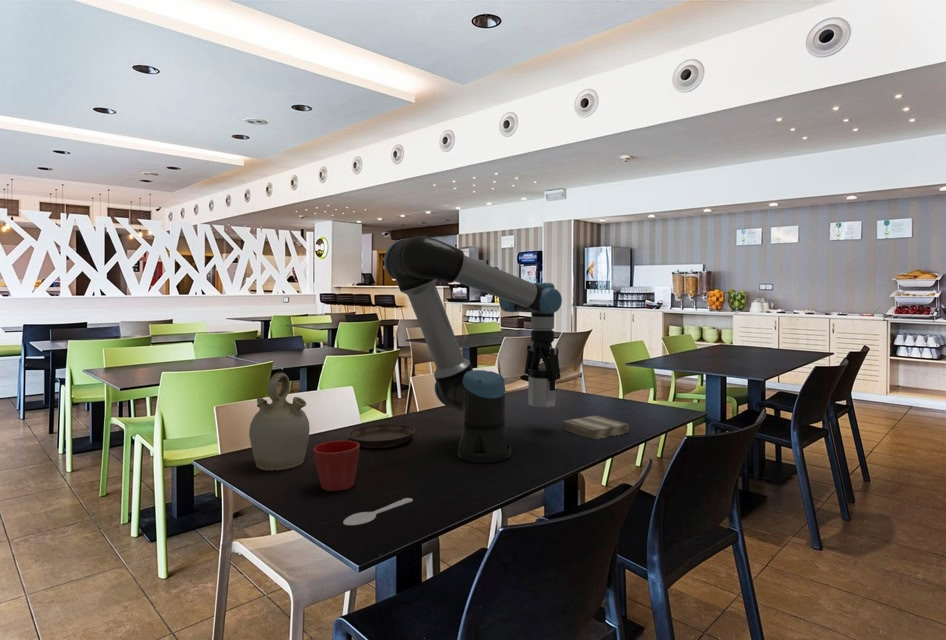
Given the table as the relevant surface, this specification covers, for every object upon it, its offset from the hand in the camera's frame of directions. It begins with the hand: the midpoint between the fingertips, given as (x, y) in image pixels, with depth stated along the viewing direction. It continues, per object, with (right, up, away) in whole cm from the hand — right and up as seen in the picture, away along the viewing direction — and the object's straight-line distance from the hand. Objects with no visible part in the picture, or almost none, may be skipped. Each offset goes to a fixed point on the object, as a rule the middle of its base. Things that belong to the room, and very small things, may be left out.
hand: (541, 397), depth 183 cm
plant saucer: (-51, -12, -10) cm, 54 cm away
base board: (+18, -11, -1) cm, 21 cm away
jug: (-75, -14, -33) cm, 83 cm away
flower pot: (-55, -14, -50) cm, 76 cm away
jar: (0, -3, 0) cm, 3 cm away
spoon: (-42, -15, -65) cm, 80 cm away
